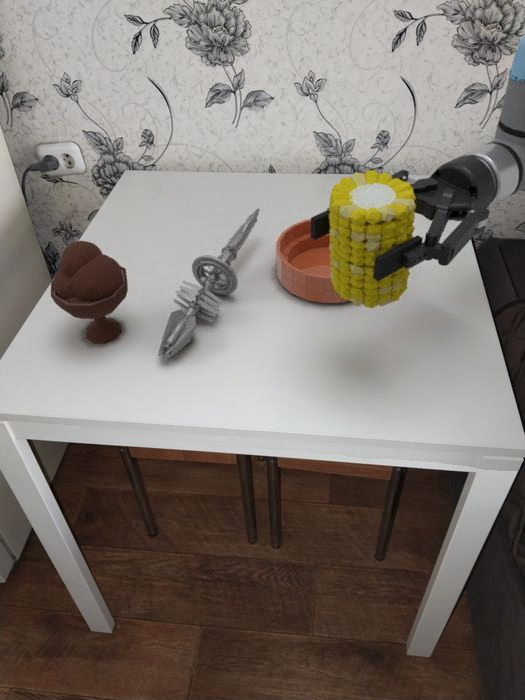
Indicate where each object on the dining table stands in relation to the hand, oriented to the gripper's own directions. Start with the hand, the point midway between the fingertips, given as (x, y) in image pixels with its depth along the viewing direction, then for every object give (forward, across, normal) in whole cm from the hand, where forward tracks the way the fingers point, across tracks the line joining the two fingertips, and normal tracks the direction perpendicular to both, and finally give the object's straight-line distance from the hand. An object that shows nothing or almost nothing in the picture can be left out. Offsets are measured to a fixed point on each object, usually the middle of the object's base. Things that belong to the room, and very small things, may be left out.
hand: (343, 248), depth 66 cm
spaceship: (+2, +26, -22) cm, 34 cm away
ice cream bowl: (+20, +30, -22) cm, 42 cm away
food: (-4, 0, -8) cm, 9 cm away
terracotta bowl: (-16, +19, -22) cm, 33 cm away
